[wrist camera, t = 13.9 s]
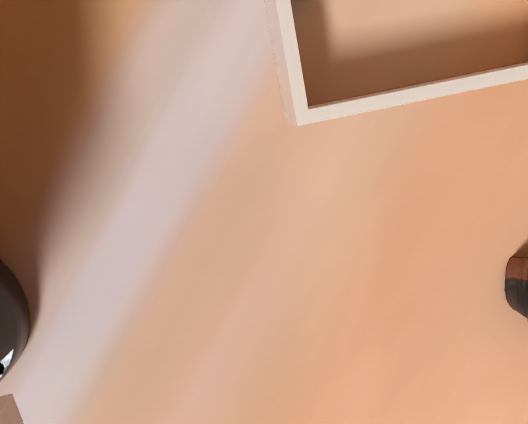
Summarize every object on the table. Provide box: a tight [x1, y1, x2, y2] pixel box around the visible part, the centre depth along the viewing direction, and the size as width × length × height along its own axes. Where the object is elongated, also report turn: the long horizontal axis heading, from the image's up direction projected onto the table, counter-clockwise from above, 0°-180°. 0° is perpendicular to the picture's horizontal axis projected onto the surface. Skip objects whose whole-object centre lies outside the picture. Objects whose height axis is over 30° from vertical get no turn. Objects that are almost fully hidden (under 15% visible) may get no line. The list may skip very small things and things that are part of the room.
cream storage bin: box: [264, 0, 528, 126], centre depth 34 cm, size 23×11×6 cm, turn 101°
